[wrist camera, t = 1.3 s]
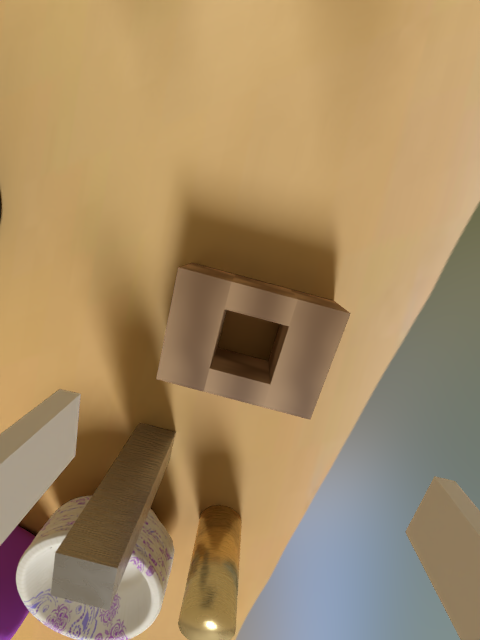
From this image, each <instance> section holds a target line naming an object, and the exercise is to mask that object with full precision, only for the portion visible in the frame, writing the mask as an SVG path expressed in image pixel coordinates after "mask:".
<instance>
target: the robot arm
mask: <svg viewBox="0 0 480 640" xmlns="http://www.w3.org/2000/svg"><path fill="white" fill-rule="evenodd" d="M0 216H1V203H0ZM80 395H81V394H79V393H75V392H71V391H66V390H62V389H59V390H58V391H56V392H55V393H54V394H52V395H51V396H50V397H48V398H47V399H46V400H44V401H43V402H42V403H41V404H39V405H38V406H37V407H35V408H34V409H33V410H31V411H30V412H29V413H27V414H26V415H25V416H23V417H22V418H21V419H19V420H18V421H17V422H16V423H14V424H13V425H12V426H10V427H9V428H8V429H6V430H5V431H4V432H2V433H1V434H0V546H1V544H2V543H3V542H4V541H5V540H6V538H7V537H8V536H9V535H10V534H11V532H12V531H13V530H14V529H15V528H16V526H17V525H18V524H19V523H20V522H21V520H22V519H23V518H24V517H25V516H26V514H27V513H28V512H29V511H30V510H31V508H32V507H33V506H34V505H35V504H36V502H37V501H38V500H39V499H40V498H41V496H42V495H43V494H44V493H45V492H46V490H47V489H48V488H49V487H50V486H51V484H52V483H53V482H54V481H55V480H56V479H57V477H58V476H59V475H60V474H61V473H62V471H63V470H64V469H65V468H66V467H67V465H68V464H69V463H70V462H71V461H72V459H73V458H74V457H75V454H76V443H77V431H78V419H79V407H80ZM406 534H407V536H408V538H409V540H410V542H411V544H412V546H413V548H414V550H415V551H416V554H417V556H418V557H419V559H420V561H421V563H422V565H423V567H424V569H425V571H426V573H427V575H428V577H429V579H430V581H431V583H432V585H433V587H434V589H435V591H436V593H437V594H438V596H439V598H440V600H441V602H442V604H443V606H444V608H445V610H446V612H447V614H448V616H449V618H450V620H451V622H452V624H453V626H454V628H455V629H456V631H457V633H458V635H459V637H460V639H461V640H480V511H479V510H478V508H477V507H476V506H475V505H474V504H473V503H472V501H471V500H470V499H469V498H468V497H467V495H466V494H465V493H464V492H463V490H462V489H461V488H460V487H459V485H458V484H457V483H456V482H455V481H452V480H447V479H443V478H439V477H434V479H433V481H432V482H431V484H430V486H429V488H428V490H427V492H426V494H425V496H424V498H423V499H422V501H421V503H420V505H419V507H418V509H417V511H416V513H415V515H414V517H413V519H412V521H411V522H410V524H409V526H408V528H407V530H406Z"/></svg>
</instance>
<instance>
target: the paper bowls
mask: <svg viewBox="0 0 480 640" xmlns="http://www.w3.org/2000/svg"><path fill="white" fill-rule="evenodd" d="M91 497H92V495H91V496H82V497H79V498H75V499H73V500H70V501H69V502H67V503H65V504H63V505H62V506H61V507H60V508H58V509H57V510H56V511H55V512H54V513H53V515H52V516H51V517H50V518H49V520H48V521H47V522H46V523H45V525H44V526H43V528H42V529H41V530H40V531H39V532H38V534H37V535H36V537H35V538H34V540H33V541H32V543H31V544H30V545H29V547H28V548H27V549H26V550H25V552H24V554H23V555H22V557H21V558H20V561H19V563H18V566H17V571H16V585H17V589H18V593H19V595H20V597H21V600H22V601H23V603H24V605H25V606H26V607H27V609H28V610H29V611H30V612H31V614H32V615H33V616H34V617H35V618H37V619H38V620H39V621H40V622H42V623H43V624H44V625H46V626H47V627H49V628H50V629H52V630H54V631H56V632H58V633H60V634H62V635H65V636H67V637H70V638H73V639H77V640H127V639H130V638H133V637H135V636H137V635H139V634H140V633H142V632H143V631H145V630H146V629H147V628H148V627H149V626H150V625H151V624H152V623H153V622H154V620H155V619H156V617H157V616H158V614H159V612H160V610H161V607H162V602H163V599H164V595H165V591H166V587H167V583H168V578H169V575H170V572H171V568H172V563H173V557H174V546H173V541H172V539H171V537H170V535H169V534H168V532H167V530H166V529H165V527H164V526H163V524H162V523H161V522H160V521H159V520H158V518H157V516H156V514H155V513H154V512H153V510H152V509H151V508H150V510H149V513H148V515H147V517H146V520H145V522H144V525H143V527H142V530H141V532H140V535H139V537H138V540H137V542H136V545H135V547H134V550H133V552H132V555H131V557H130V560H129V562H128V565H127V567H126V570H125V572H124V575H123V577H122V580H121V582H120V585H119V587H118V590H117V592H116V595H115V597H114V600H113V602H112V605H111V607H110V610H106V609H102V608H98V607H94V606H90V605H86V604H83V603H79V602H75V601H71V600H67V599H63V598H59V597H55V596H51V587H52V578H53V569H54V560H55V552H56V551H57V549H58V548H59V546H60V545H61V543H62V541H63V540H64V538H65V537H66V535H67V534H68V532H69V531H70V529H71V528H72V526H73V525H74V523H75V521H76V520H77V518H78V517H79V515H80V514H81V512H82V511H83V509H84V508H85V506H86V505H87V503H88V501H89V500H90V498H91Z"/></svg>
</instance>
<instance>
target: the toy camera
mask: <svg viewBox="0 0 480 640" xmlns="http://www.w3.org/2000/svg"><path fill="white" fill-rule="evenodd" d="M35 537H36V536H34V535H33V534H31V533H30V532H28V531H26V530H25V529H23V528H21V527H20V526H18V525H17V526H16V528H15V529H14V530H13V531H12V532H11V534H10V535H9V536H8V537H7V538H6V540H5V541H4V542H3V543H2V544H1V546H0V640H10V639H11V638H12V637H13V636H14V634H15V633H16V631H17V630H18V628H19V627H20V625H21V624H22V622H23V621H24V619H25V618H26V616H27V614H28V613H29V610H28V609H27V607H26V606H25V605H24V603H23V601H22V600H21V597H20V595H19V593H18V589H17V585H16V571H17V566H18V563H19V561H20V558H21V557H22V555H23V554H24V552H25V550H26V549H27V548H28V547H29V545H30V544H31V543H32V541H33V540H34V538H35Z"/></svg>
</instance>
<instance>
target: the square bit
mask: <svg viewBox="0 0 480 640" xmlns="http://www.w3.org/2000/svg"><path fill="white" fill-rule="evenodd" d="M175 433H176V432H173V431H170V430H166V429H162V428H158V427H154V426H150V425H147V424H143V423H139V425H138V426H137V428H136V429H135V431H134V432H133V434H132V435H131V437H130V438H129V440H128V441H127V443H126V445H125V446H124V448H123V449H122V451H121V452H120V454H119V455H118V457H117V458H116V460H115V461H114V463H113V465H112V466H111V468H110V469H109V471H108V472H107V474H106V475H105V477H104V478H103V480H102V481H101V483H100V485H99V486H98V488H97V489H96V491H95V492H94V494H93V495H92V497H91V498H90V500H89V501H88V503H87V505H86V506H85V508H84V509H83V511H82V512H81V514H80V515H79V517H78V518H77V520H76V521H75V523H74V525H73V526H72V528H71V529H70V531H69V532H68V534H67V535H66V537H65V538H64V540H63V541H62V543H61V545H60V546H59V548H58V549H57V551H56V552H55V560H54V569H53V578H52V587H51V596H55V597H59V598H63V599H67V600H71V601H75V602H79V603H83V604H86V605H90V606H94V607H98V608H102V609H106V610H110V607H111V605H112V602H113V600H114V597H115V595H116V592H117V590H118V587H119V585H120V582H121V580H122V577H123V575H124V572H125V570H126V567H127V565H128V562H129V560H130V557H131V555H132V552H133V550H134V547H135V545H136V542H137V540H138V537H139V535H140V532H141V530H142V527H143V525H144V522H145V520H146V517H147V515H148V513H149V510H150V508H151V505H152V503H153V500H154V498H155V495H156V493H157V490H158V488H159V485H160V483H161V480H162V478H163V475H164V473H165V470H166V468H167V465H168V463H169V459H170V455H171V451H172V446H173V442H174V438H175Z"/></svg>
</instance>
